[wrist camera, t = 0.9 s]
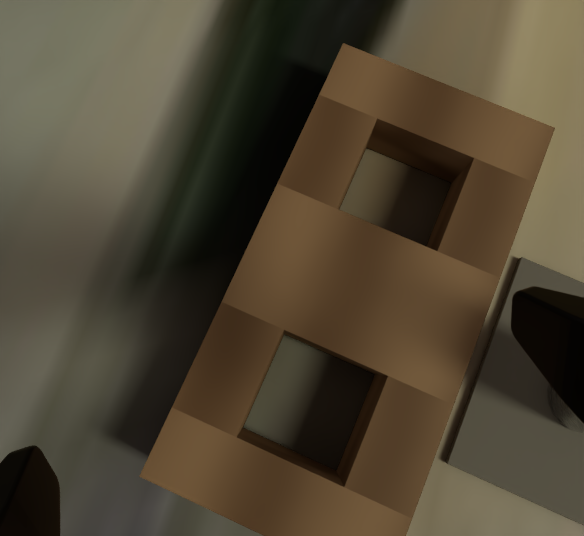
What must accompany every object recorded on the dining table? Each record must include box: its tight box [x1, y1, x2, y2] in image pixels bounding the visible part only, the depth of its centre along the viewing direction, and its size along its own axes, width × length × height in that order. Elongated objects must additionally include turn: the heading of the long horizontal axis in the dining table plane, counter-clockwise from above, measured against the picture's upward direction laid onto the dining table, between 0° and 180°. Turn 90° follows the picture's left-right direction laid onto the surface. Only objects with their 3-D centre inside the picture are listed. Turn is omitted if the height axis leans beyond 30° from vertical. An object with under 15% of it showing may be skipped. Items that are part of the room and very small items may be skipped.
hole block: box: [140, 43, 555, 536], centre depth 22 cm, size 10×20×3 cm, turn 156°
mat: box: [446, 258, 584, 525], centre depth 22 cm, size 9×10×1 cm
